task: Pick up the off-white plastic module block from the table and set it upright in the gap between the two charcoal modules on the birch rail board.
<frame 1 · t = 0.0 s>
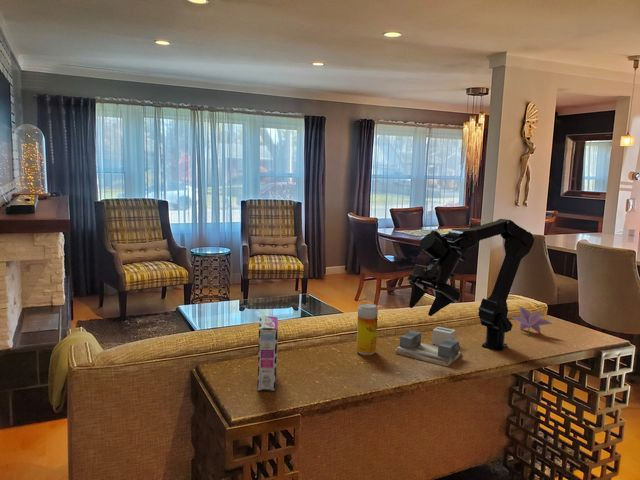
hand: (419, 311, 150), 15 cm above the table, tool tilted 35°, fingers open, 9 cm apart
beer can: (366, 353, 157), on the table
lily: (529, 334, 180), on the table
candy bar box: (267, 383, 133), on the table
module block: (443, 344, 167), on the table
rail board: (428, 354, 157), on the table
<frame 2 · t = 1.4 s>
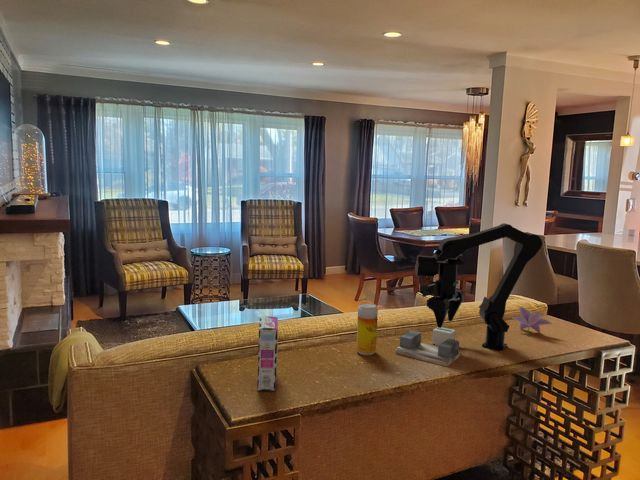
hand: (445, 324, 166), 7 cm above the table, tool pointing down, fingers open, 9 cm apart
nothing on the table moved.
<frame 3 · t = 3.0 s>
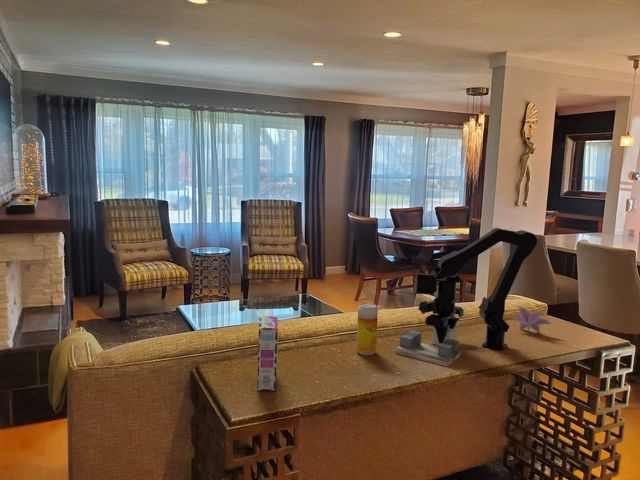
hand: (443, 341, 166), 1 cm above the table, tool pointing down, fingers closed on module block, 4 cm apart
module block: (443, 344, 167), on the table, touching gripper
everything else where it was.
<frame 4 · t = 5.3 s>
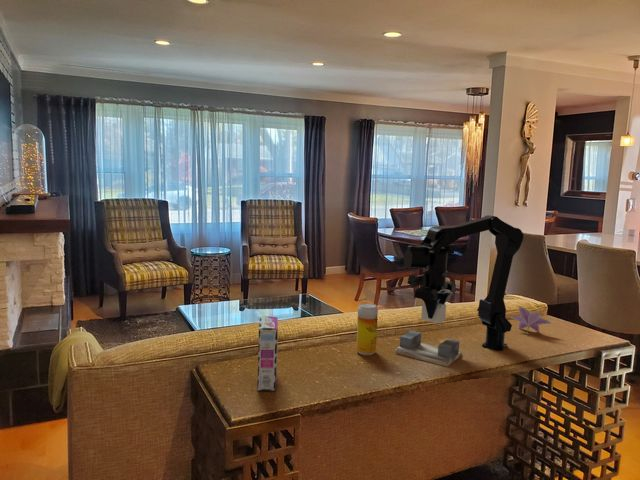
hand: (433, 316, 158), 11 cm above the table, tool pointing down, fingers closed on module block, 4 cm apart
module block: (433, 319, 158), point 10 cm above the table, touching gripper
everything else where it was.
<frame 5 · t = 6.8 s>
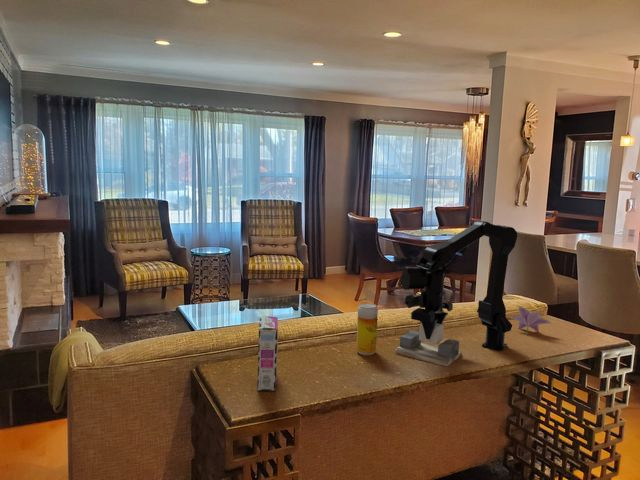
hand: (431, 337, 157), 5 cm above the table, tool pointing down, fingers closed on module block, 4 cm apart
module block: (430, 340, 157), point 4 cm above the table, touching gripper
everything else where it was.
when the fingers open (3 cm above the table, at t = 8.0 s): module block drops 1 cm, resting on rail board.
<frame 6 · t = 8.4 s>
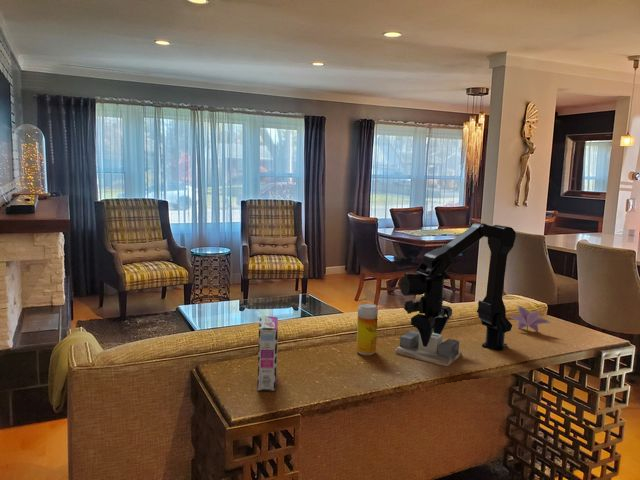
hand: (430, 342, 157), 3 cm above the table, tool pointing down, fingers open, 8 cm apart
module block: (430, 350, 158), point 1 cm above the table, touching rail board
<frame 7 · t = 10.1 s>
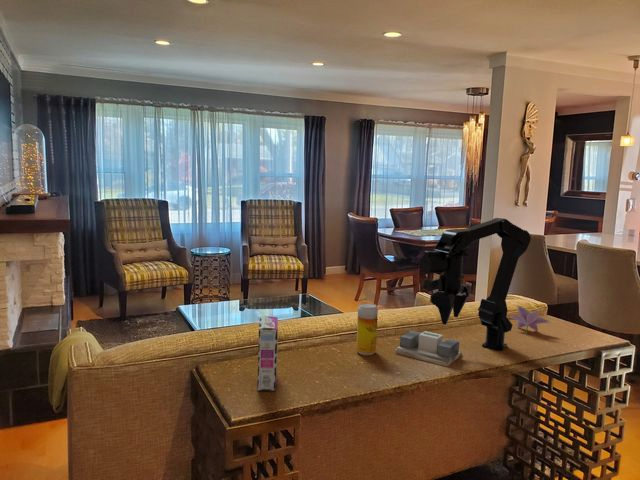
hand: (450, 320, 157), 11 cm above the table, tool pointing down, fingers open, 9 cm apart
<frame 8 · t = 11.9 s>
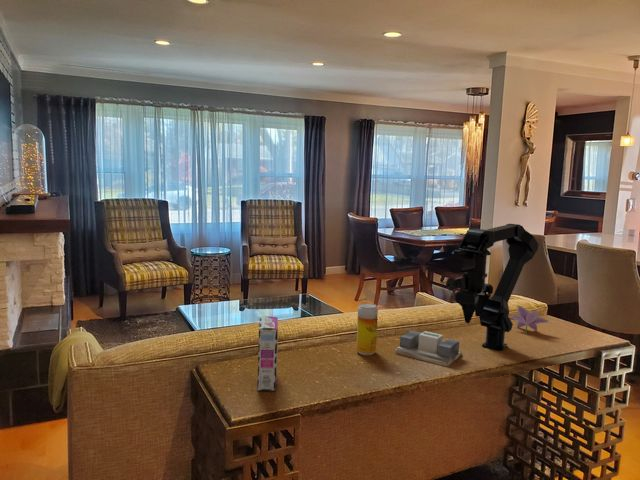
hand: (472, 319, 157), 11 cm above the table, tool pointing down, fingers open, 9 cm apart
at the end: module block 0.0 cm from the target spot on the rail board, point 1.0 cm above the rail board's base; module block tilted 0°; the gripper is holding nothing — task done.
